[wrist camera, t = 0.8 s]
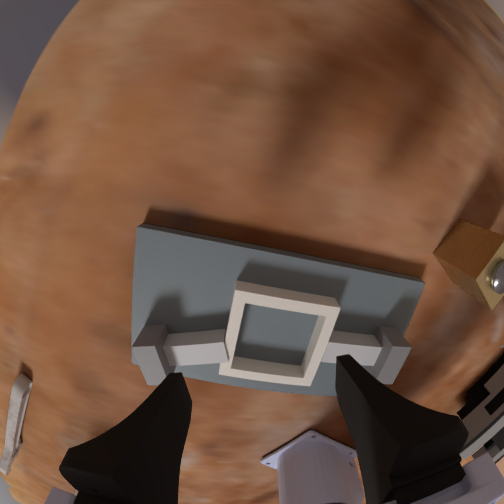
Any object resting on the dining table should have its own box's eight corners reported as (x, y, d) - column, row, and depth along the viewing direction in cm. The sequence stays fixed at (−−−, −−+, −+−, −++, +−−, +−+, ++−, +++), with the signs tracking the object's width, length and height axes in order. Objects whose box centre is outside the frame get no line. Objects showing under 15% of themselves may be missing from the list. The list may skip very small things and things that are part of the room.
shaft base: (418, 277, 22) (444, 298, 18) (368, 389, 25) (381, 418, 21) (142, 223, 20) (119, 237, 16) (136, 355, 24) (120, 385, 20)
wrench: (44, 367, 29) (21, 453, 32) (34, 359, 28) (14, 448, 32) (14, 402, 21) (6, 479, 24) (2, 391, 21) (-2, 473, 24)
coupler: (477, 249, 21) (525, 274, 15) (452, 281, 22) (496, 314, 16) (459, 219, 20) (511, 239, 14) (432, 253, 21) (480, 283, 15)
